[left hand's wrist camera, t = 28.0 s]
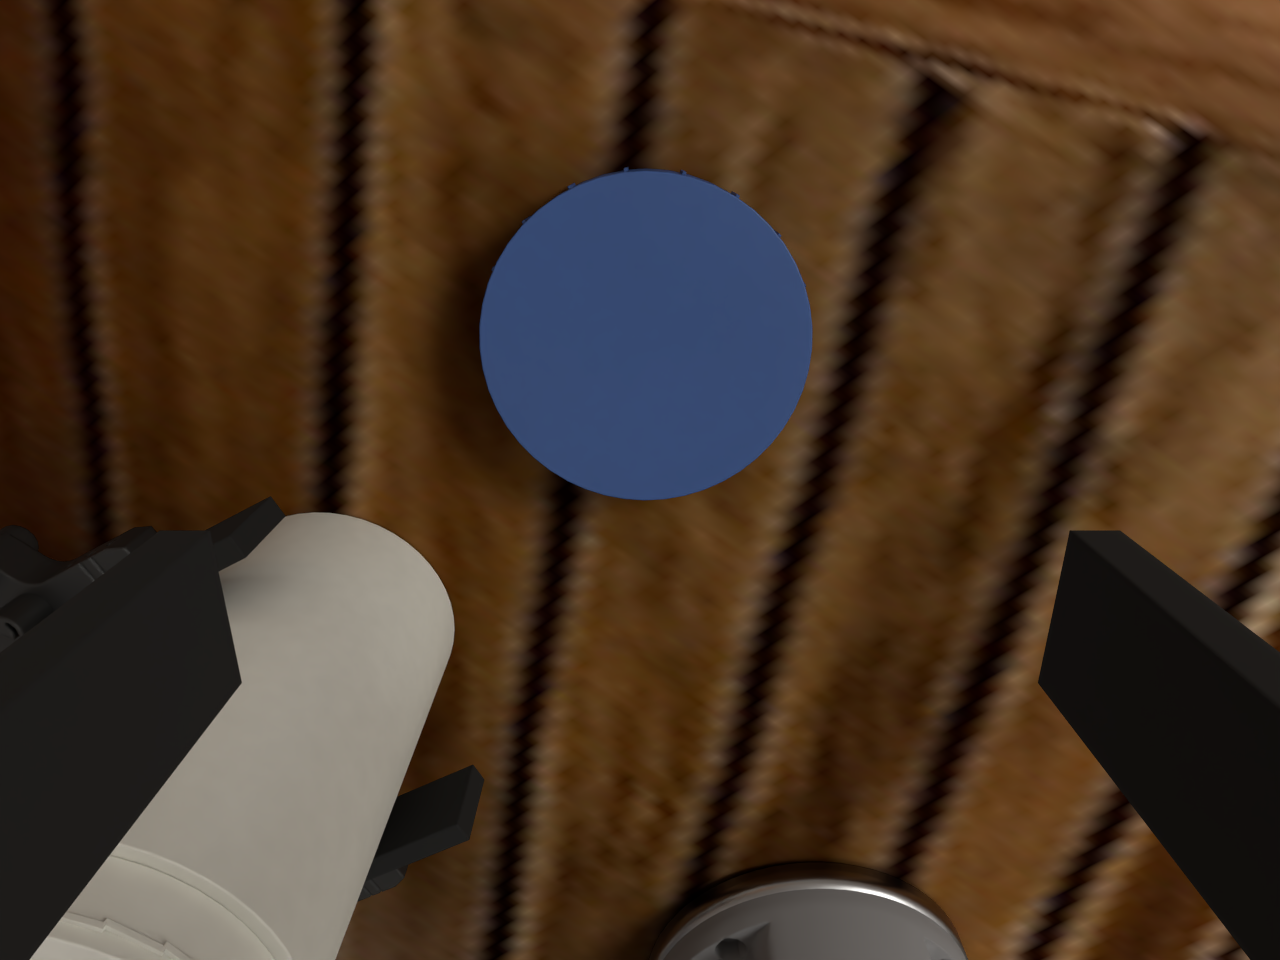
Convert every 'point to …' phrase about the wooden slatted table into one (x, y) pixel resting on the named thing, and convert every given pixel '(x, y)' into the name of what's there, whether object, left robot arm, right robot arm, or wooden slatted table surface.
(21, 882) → the left robot arm
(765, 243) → the lid
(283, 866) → the jar
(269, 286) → the wooden slatted table surface
